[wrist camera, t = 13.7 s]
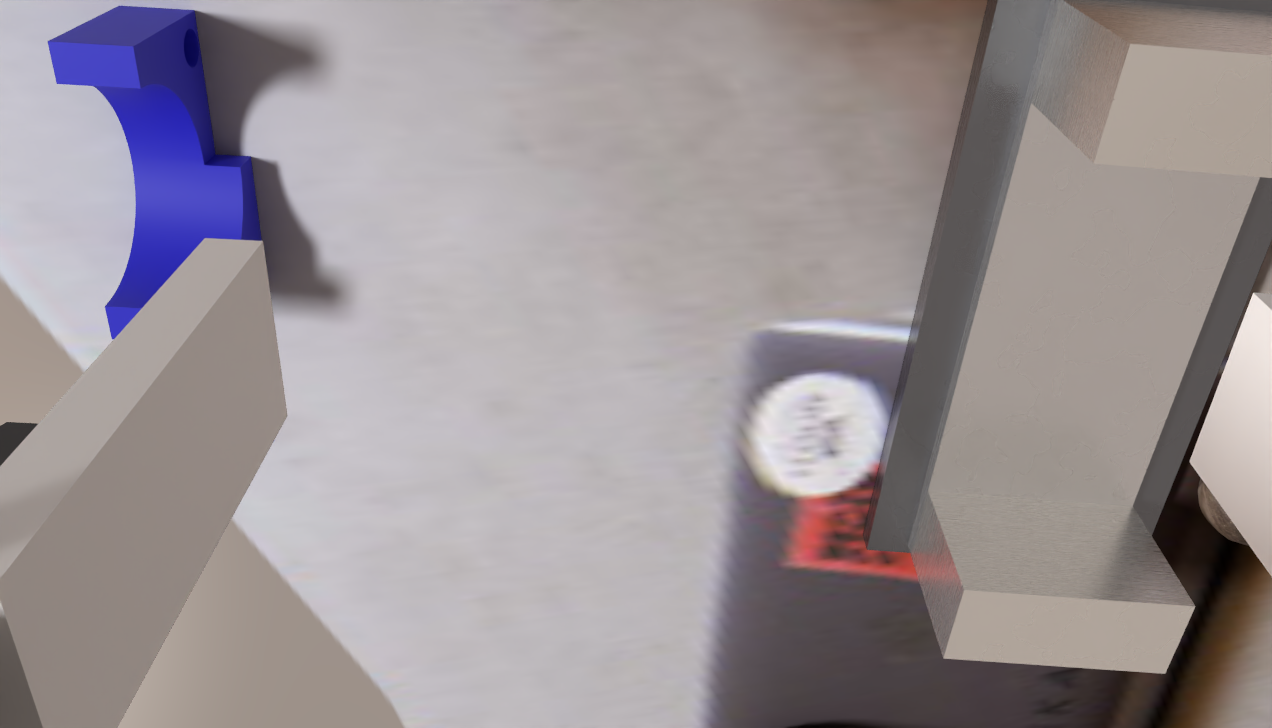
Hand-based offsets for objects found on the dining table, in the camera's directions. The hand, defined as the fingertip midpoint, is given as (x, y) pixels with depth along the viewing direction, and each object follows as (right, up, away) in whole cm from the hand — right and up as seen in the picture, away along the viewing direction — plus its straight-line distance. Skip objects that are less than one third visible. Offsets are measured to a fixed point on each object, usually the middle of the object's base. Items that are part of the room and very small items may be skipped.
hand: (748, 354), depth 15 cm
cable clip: (-20, +9, +32) cm, 39 cm away
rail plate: (+18, +3, +34) cm, 39 cm away
